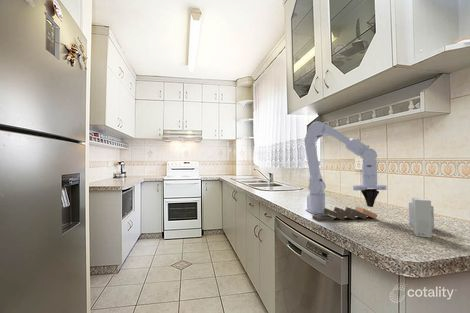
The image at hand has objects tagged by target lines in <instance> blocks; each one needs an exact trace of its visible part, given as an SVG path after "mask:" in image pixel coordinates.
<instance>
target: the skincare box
mask: <svg viewBox="0 0 470 313" xmlns="http://www.w3.org/2000/svg"><path fill="white" fill-rule="evenodd" d="M411 199H412V200H411V203H412V219H413V225H412V232H413V233H414V235H415V236H416V237H421V238H422V237H423V238H429V239H431V238H432V237H433V236H432V235H433V234H432V232H433V230H432V227H431V206H432V201H431V200H430V199H428V198H423V197H422V198H421V197H411Z"/></svg>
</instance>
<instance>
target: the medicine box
mask: <svg viewBox="0 0 470 313" xmlns="http://www.w3.org/2000/svg"><path fill="white" fill-rule="evenodd" d="M434 210H435V209H434V206H433V205H431V227H432V231H435V215H434V213H435V212H434ZM408 217H409V218H408V222H409V225H411V226H413V219H412V202H409V203H408Z"/></svg>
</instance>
